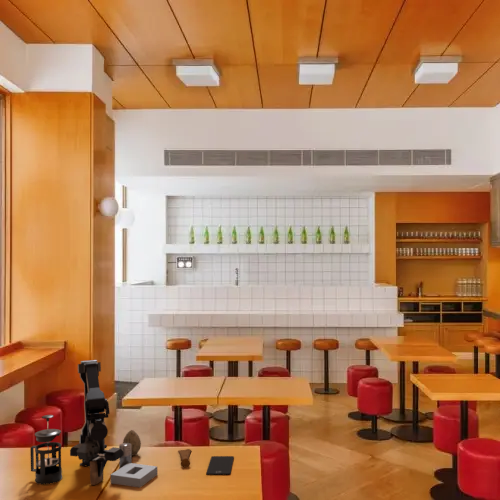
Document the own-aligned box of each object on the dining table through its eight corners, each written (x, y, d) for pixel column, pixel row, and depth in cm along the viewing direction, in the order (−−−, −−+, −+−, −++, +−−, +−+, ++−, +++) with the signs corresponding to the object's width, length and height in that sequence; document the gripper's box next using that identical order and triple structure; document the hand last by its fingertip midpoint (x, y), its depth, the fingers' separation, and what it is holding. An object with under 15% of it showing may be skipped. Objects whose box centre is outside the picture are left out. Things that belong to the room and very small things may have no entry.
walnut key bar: (90, 484, 203) (89, 461, 203) (98, 479, 208) (98, 456, 208) (95, 485, 203) (94, 462, 203) (103, 479, 207) (103, 457, 207)
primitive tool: (177, 451, 237) (177, 443, 237) (191, 450, 238) (191, 442, 238) (180, 469, 218) (180, 459, 218) (195, 468, 219) (195, 458, 219)
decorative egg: (144, 454, 233) (144, 429, 233) (130, 459, 228) (130, 434, 228) (133, 450, 238) (132, 426, 238) (119, 455, 232) (118, 430, 232)
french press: (68, 474, 213) (67, 412, 213) (56, 485, 204) (55, 419, 204) (38, 473, 214) (37, 411, 214) (25, 484, 205) (24, 419, 205)
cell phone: (206, 476, 210) (205, 473, 210) (211, 458, 228) (211, 456, 228) (230, 476, 210) (230, 473, 210) (233, 458, 228) (233, 456, 228)
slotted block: (110, 483, 204) (110, 474, 204) (129, 470, 216) (128, 462, 216) (140, 487, 200) (140, 478, 200) (157, 474, 212) (157, 466, 212)
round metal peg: (117, 467, 220) (116, 446, 220) (123, 463, 224) (123, 442, 224) (127, 468, 218) (127, 447, 218) (133, 464, 222) (133, 443, 222)
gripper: (59, 436, 201) (60, 481, 201) (105, 441, 194) (106, 488, 194) (79, 427, 211) (80, 470, 211) (123, 432, 205) (124, 476, 205)
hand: (96, 476), depth 205 cm, fingers closed on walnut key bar, 2 cm apart
